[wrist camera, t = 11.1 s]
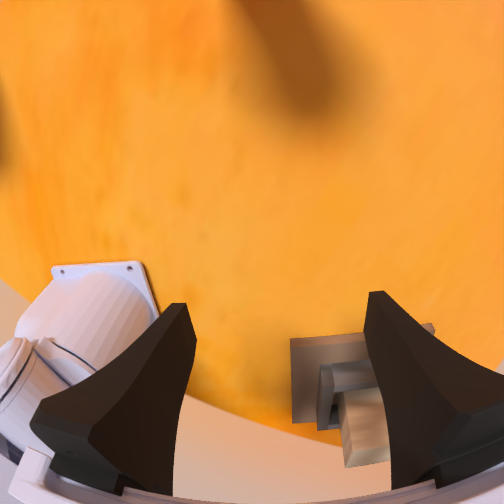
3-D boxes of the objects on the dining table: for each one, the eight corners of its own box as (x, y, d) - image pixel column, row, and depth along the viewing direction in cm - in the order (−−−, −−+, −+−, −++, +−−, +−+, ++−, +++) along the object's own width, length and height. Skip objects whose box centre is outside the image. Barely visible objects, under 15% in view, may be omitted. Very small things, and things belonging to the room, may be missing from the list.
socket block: (292, 416, 31) (292, 442, 28) (290, 338, 25) (291, 370, 22) (400, 402, 30) (407, 426, 27) (431, 323, 24) (445, 350, 21)
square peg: (336, 399, 28) (344, 468, 21) (340, 375, 26) (352, 451, 19) (373, 394, 27) (388, 460, 20) (381, 370, 25) (400, 442, 18)
